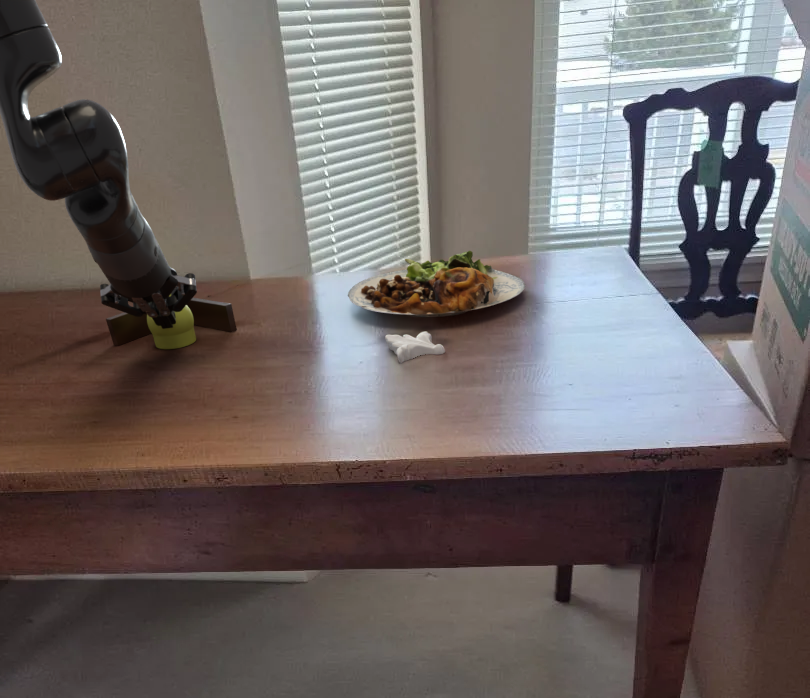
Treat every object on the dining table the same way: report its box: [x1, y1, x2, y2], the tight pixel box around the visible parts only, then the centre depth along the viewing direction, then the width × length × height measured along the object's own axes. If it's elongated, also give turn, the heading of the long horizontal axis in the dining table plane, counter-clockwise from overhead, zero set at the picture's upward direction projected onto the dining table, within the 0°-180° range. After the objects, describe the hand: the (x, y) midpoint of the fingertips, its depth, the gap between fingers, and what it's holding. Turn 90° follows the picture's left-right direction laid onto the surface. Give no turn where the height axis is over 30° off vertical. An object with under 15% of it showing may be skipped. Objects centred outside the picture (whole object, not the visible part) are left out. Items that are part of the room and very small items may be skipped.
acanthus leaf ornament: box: [384, 331, 446, 364], centre depth 98 cm, size 8×7×2 cm
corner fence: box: [105, 297, 237, 346], centre depth 110 cm, size 13×13×4 cm
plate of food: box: [347, 250, 526, 318], centre depth 115 cm, size 28×28×6 cm
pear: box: [147, 294, 197, 350], centre depth 107 cm, size 7×7×9 cm
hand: (167, 322), depth 104 cm, fingers closed
